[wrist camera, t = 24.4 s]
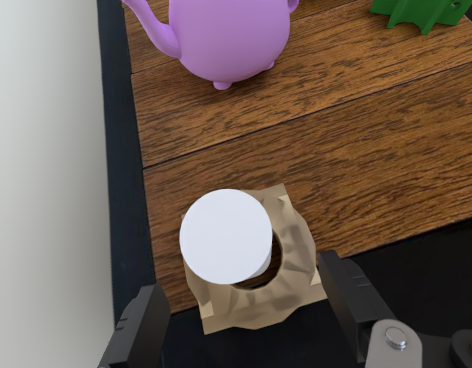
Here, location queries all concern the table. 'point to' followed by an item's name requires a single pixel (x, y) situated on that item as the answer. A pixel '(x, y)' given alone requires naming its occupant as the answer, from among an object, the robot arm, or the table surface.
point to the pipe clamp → (421, 12)
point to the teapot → (220, 35)
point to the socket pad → (276, 290)
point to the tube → (226, 237)
